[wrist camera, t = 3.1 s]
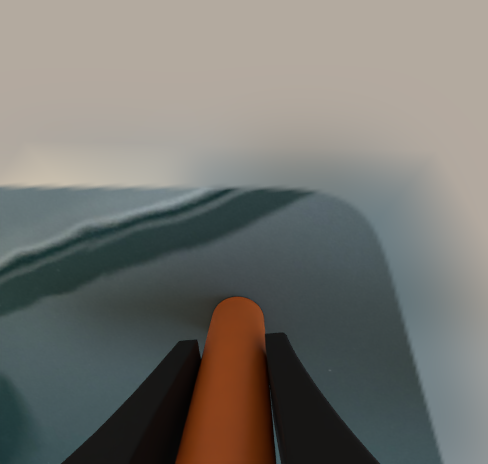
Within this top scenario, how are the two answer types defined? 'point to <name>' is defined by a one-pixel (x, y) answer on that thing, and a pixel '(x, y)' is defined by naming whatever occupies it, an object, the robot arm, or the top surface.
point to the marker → (231, 392)
